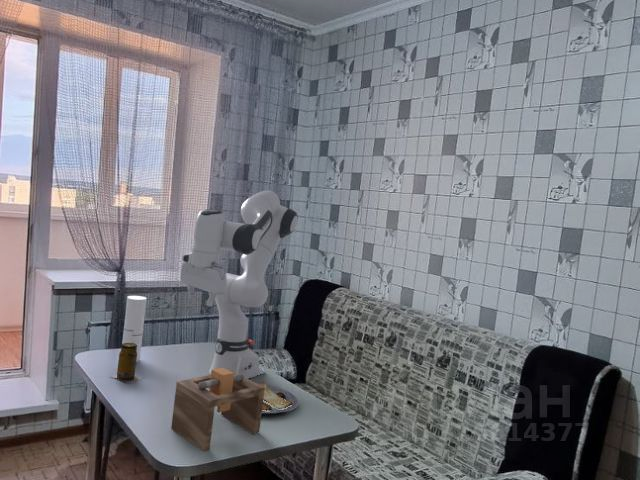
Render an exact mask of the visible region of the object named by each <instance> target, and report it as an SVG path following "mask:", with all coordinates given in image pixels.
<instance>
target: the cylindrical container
mask: <svg viewBox="0 0 640 480" xmlns="http://www.w3.org/2000/svg"><path fill="white" fill-rule="evenodd" d="M126 297H127V298H126V307H125V317H124V326H123V332H122V333H123V335H122V341H121V343H122V344H123V343H134V344H136V345H137V351H136V352H137V360H136V363H139V362H140V361H141V360H140V359H141V351H142V343H143V335H144V334H143V333H144V325H145V314H146V309H147V297H146V296H141V295H128V296H126ZM122 344H121V345H122Z"/></svg>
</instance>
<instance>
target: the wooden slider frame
mask: <svg viewBox="0 0 640 480" xmlns="http://www.w3.org/2000/svg"><path fill="white" fill-rule="evenodd" d="M231 372H233V371H231ZM233 373H234V378H233V387H232V392H230V393H226V394H222V395H218V396H217V395H215V394H214V393H212V392H210V391H209V389H210V387H215V386H219V385H220V381H219V380H217V379H213V380H211V374H209V375H203V376H198V377H193V378H188V379H183V380H179V381H178V380H177V381H176V385H175V391H174V392H175V394H174V401H173V402H174V403H173V408H172V409H173V410H172V419H171V427H170V428H171V429H172V430H173V431H174V432H176V433H177V434H178V435H180V436H181V437H183V438H184V439H186V440H187V441H189V443H191V444H193V445H194V446H195V447H197V448H198V449H200V450H201V451H202V452H205V451H209V450H210V449H211V441H212V434H213V433H212V432H213V423H214V416H215V409H216V408H215V407H217V406H219V405H223V404H227V403H231V406H230V410H227V411H223V412H220V415H221V416H222V415H223V417H224V416H225V417H224V418H226V419H227V418H228V419H227V420H229V419H230V422H232V421H233V422H232V423H234V422H235V423H234V424H235V425H237V424H238V426H239V425H240V426H239V427H241V428H242V427H243V429H244V428H245V429H244V430H245V431H247V430H248V431H247V432H249V431H250V432H249V433H251V432H252V433H253V434H252V433H251V434H252V435H256V434H255V433H257V434H259V433H260V428H261V421H262V414H263V413H262V412H263V411H262V406H263V398H264V391H265V387H263V386H261V385H259V383H256V382H254V381H253V380H251V379H247V378H245V377H244V376H243V374H237V373H235V372H233ZM258 432H259V433H258Z"/></svg>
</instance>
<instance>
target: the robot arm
mask: <svg viewBox="0 0 640 480" xmlns="http://www.w3.org/2000/svg"><path fill="white" fill-rule="evenodd" d="M240 216H241V218H242V220H243V222H244V223H242V222H234V221H229V220H227V219H225V218H224V213H223V212H222V211H221V210H219V209H212V208H211V209H202V210H200V211H199V213H198V215H197V217H196V222H195V225H194V226H195V227H194V233H193V237H194V239H193V240H194V242H193V246H192V250H191V252H189V253H186V254H183V255H182V256H181V260H182V263H181V269H180V281H181V283H182V284H184V285H187V291H188V300H192V301H195V300H196V299H197V298H196V297H197V294H196V292H195V289H199V290H202V291H204V292H207V293H208V296H209V297H208V298H207V299H206V300H205V306H206V307H213V306H214V302H215V304H216V307H217V312H218V330H217V336H216V339H215V345H214V347H215V348H214V349H215V351H214V356H213V359H212V363H211V366H210V369H208V373H209V375H211V370H213V369H218V368H224V369H226V370H229V371H233V372H235V373H237V374H243V376H244V377H245V378H247V379H249V378H250V379H252V378H255V377H257V375H258V376H261V375H264V374H265V370H264V368H263V367H261V366H260V358H259V356H258V355H257V354H256V353H255V352H254V351H253V350H251V348H249V345H250V346H253V345H254V343H255V341H254V340H252V339H251V338H250V339H248V338H247V335H248V328H249V327H248V326H249V320H248V317H247V316H246V315H245V314H244V313H243V311H242V309H241V306H242V307H245V308H260V307H262V306H263V305H264V304H265V303H266V302H267V299H268V296H269V290H268V287H267V285H266V282H265V274H266V270H267V269H268V266H269V265H270V263H271V261H272V259H273V257H274V255H275V254H276V251H277V249H278V246H279V243H280V239H284V238H285V237H286V236H289V235H291V234H293V232H294V231H295V230H296V228H297V226H298V221H299V215H298V212H296V211H295V210H293V209H292V208H288V207H286V206H284V205H282V204H281V201H280V198H279V195H278V194H277V193H276V192H274V191H272V190H263V191H259V192H257V193H255V194H253V195H251V196H250V197H248V198H247V199H246V200H245V201H243V203H242V205H241V208H240ZM221 250H223V251H224V250H225V251H230V252H234V253H235V252H236V253H239V254H242V255H241V256H240V259H239V260H240V266H241V267H242V269H243V270H244V271H243V273H242V274H241V275H239V274H232V273H228V272H226V269H225V267H224V265H223V264H222V263H221V264H220V259H221ZM260 374H261V375H260ZM250 379H249V380H250Z"/></svg>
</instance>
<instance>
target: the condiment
mask: <svg viewBox="0 0 640 480" xmlns="http://www.w3.org/2000/svg"><path fill="white" fill-rule="evenodd" d="M136 351H137V345H136V344H134V343H123V344H121V347H120V351H119V353H118V363H117V369H116V370H117V372H116V375H111V376H110V378H113V379H115V378H116V376H117V378H118V379H117V380H119V381H121V382H125V383H126V384H128V383H132V382H133V383H134V382H137V381H139V380H143V377H141V376H139V375H136V368H137V362H136V360H137V352H136ZM114 377H115V378H114Z"/></svg>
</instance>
